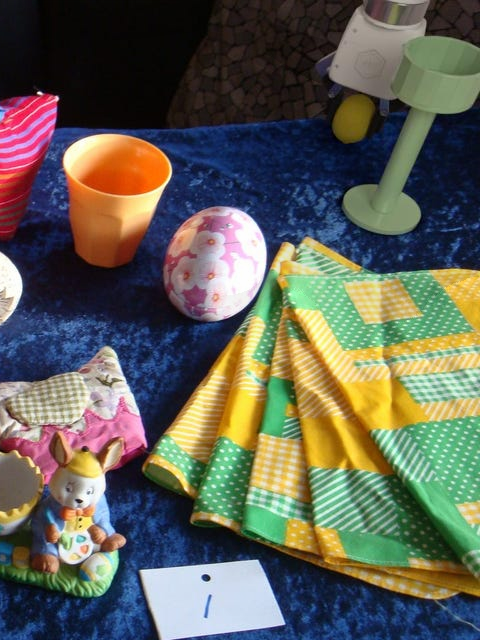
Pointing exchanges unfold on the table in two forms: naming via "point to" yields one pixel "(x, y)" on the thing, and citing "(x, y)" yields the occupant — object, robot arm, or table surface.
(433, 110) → the green goblet
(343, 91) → the robot arm
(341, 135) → the lemon
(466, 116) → the table surface
